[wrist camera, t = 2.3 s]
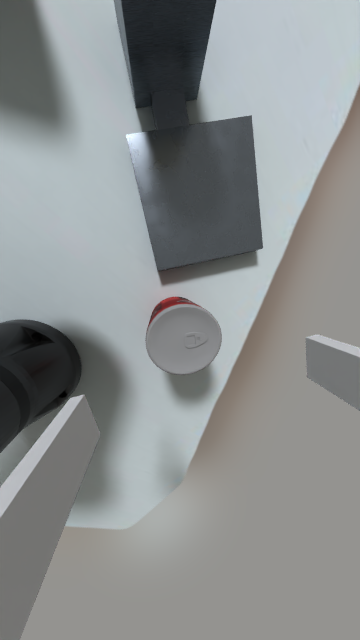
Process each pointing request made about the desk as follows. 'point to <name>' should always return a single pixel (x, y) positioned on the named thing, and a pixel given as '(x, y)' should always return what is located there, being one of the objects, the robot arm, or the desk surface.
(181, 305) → the canned food
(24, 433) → the desk surface
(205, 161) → the grey stepped stand
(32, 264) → the desk surface
